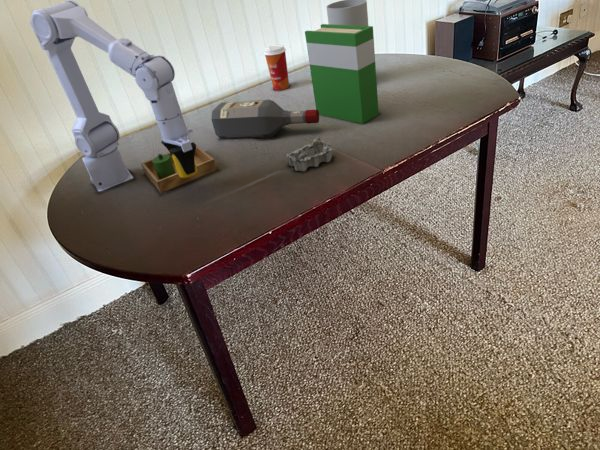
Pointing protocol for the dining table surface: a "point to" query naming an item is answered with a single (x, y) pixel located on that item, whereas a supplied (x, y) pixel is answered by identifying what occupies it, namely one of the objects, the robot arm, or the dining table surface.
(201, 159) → the wooden tray
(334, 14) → the cylinder vase
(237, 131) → the liquor
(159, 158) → the green pepper
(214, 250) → the dining table surface
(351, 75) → the hardback book
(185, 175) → the yellow pepper
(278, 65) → the paper cup
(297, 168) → the egg carton
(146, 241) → the dining table surface
